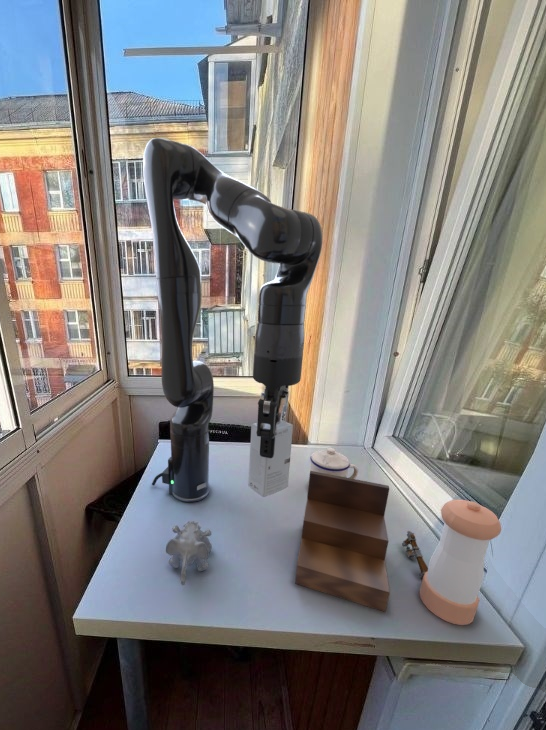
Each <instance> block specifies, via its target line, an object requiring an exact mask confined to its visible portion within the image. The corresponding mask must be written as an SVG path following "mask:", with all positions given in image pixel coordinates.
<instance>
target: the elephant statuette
mask: <svg viewBox="0 0 546 730" xmlns="http://www.w3.org/2000/svg"><path fill="white" fill-rule="evenodd" d="M171 530H172V532H173V533H174V534H176V533H177V535H176V536H175V537H174V538H172V539H170V540H169V541H168V542H167V544H166V545H165V553H166V554H167V555H169V556H172V557H170V559H169V560H168V564H169V565H170V566H171V567H172V568H174V569H179V568H180V564H181V571H180V572H181V573H180V581H179V582H180V585H181V586H184V585H185V584H186V581H187V567H188V566H191V565H192V564H194V562H195V564H196V570H197V571H198V572H203V571H206V570H208V569H209V563H208V562H207V559H208V558H209V553H210V552H211V551H212V549H213V544H212V543H211V541H210V539H209V537H211V535H212V531H211V529H210V528H206V530H205V531H203V530H202V527H201V526H200V524H199V522H196V521H195V520H193V521H187V522H186V524H183V528H182V529H180V528H179V526H178V524H175V525H174V526H173V527H172V529H171Z"/></svg>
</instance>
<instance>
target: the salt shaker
mask: <svg viewBox="0 0 546 730" xmlns="http://www.w3.org/2000/svg"><path fill="white" fill-rule="evenodd" d="M440 515H441V519H442V521H443V522H444V523H443V526H442V531H441V534H440V538H439V542H438V544H437V545H436V546H435V549H434V551H433V553H432V555H431V557H430V560H429V563H428V566H427V567H428V571H427V572H425V574H424V576H423V578H422V580H421V584H420V587H419V597H420V599H421V601H422V604H424V606H425V607H426V609H428V610H429V611H430V612H431V613H432V614H433V615H435V616H437V618H440V619H442V620H443V621H446V622H447V623H450V624H453V625H459V626H465V625H466V626H467V625H470V624H471V623H473V622H474V619H475V616H476V613H477V610H478V607H479V604H480V597H479V594H480V590H481V588H482V585H483V582H484V569H485V567H484V566H485V557H486V554H487V551H488V548H489V544H490V541H492V540H493V539H495V538H497V537H498V536H499V535H500V534H501V532H502V524H501V522H500V520H499V518H498V517H497V515H496V514H495V513H494V512H493V511H492V510H491V509H489V508H487V507H485V506H483V505H481V504H479V503H478V502H475V501H470V500H465V499H451V500H449V501H447V502H445V503H444V504H443V505H442V506H441V508H440Z"/></svg>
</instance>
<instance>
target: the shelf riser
mask: <svg viewBox="0 0 546 730" xmlns="http://www.w3.org/2000/svg"><path fill="white" fill-rule="evenodd" d="M309 475H310V477H308V484H309V486H308V487H307V495H306V496H307V497H306V503H305V509H304V515H303V520H302V530H301V539H300V545H299V550H298V557H297V562H296V570H295V579H294V580H295V581H294V584H296V585H299V586H302V587H306V588H308V589H311V590H315V591H318V592H321V593H324V594H327V595H331V596H334V597H337V598H341V599H343V600H347V601H349V602H353V603H356V604H359V605H363V606H365V607H369V608H372V609H375V610H378V611H382V612H387V607H388V604H389V603H388V602H389V597H390V594H391V593H390V584H389V578H388V572H387V566H386V556H387V551H388V545H389V535H388V531H387V530H388V529H387V525H386V519H385V514H386V508H387V503H388V497H389V493H390V486H389V485H388V484H387V485H386V484H382V483H377V482H372V481H366V480H361V479H357V478H355V479H351V478H349V477H347V478H346V477H341V476H335V475H330V474H325V473H320V472H315V471H310V470H309Z"/></svg>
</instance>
